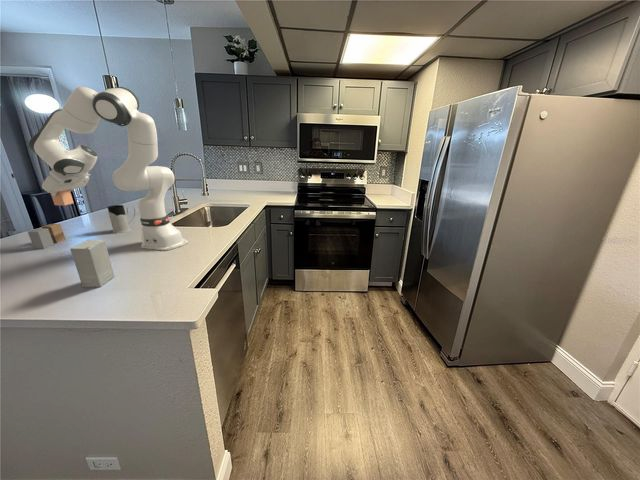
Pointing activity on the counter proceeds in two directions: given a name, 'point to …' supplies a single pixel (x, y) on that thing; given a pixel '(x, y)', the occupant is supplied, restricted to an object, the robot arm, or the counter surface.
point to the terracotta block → (63, 198)
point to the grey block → (41, 238)
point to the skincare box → (92, 263)
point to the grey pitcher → (119, 218)
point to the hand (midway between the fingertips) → (59, 194)
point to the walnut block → (55, 232)
